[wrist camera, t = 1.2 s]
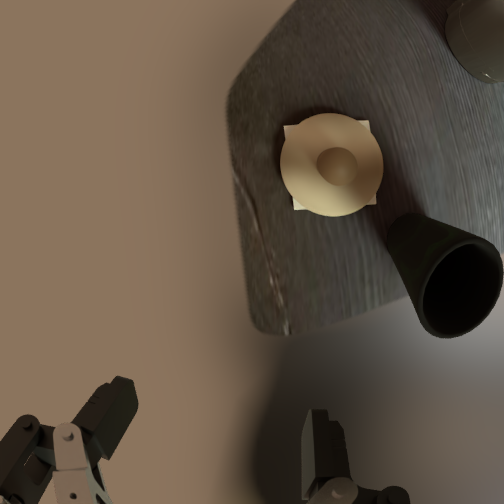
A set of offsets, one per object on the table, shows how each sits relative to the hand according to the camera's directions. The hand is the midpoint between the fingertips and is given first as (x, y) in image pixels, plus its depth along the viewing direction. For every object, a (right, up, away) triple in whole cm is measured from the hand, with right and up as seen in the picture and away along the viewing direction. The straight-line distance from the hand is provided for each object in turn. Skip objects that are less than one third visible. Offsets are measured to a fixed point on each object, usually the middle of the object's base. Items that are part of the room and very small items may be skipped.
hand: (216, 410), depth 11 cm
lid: (+9, +15, +14) cm, 22 cm away
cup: (+18, +8, +15) cm, 25 cm away
